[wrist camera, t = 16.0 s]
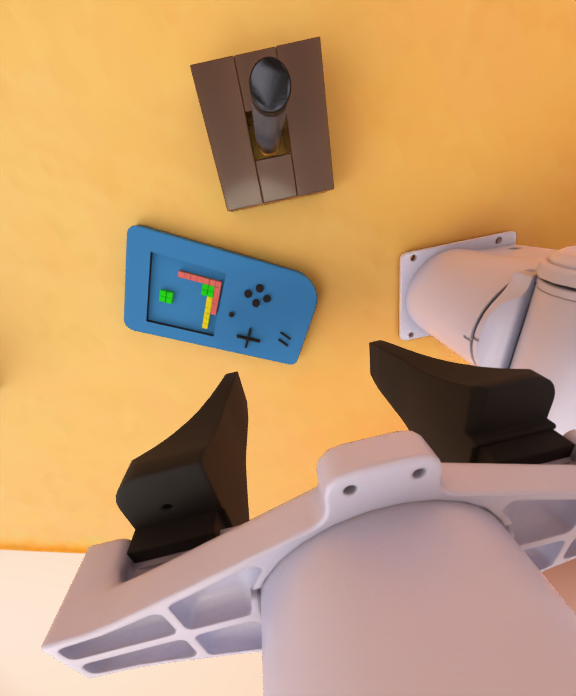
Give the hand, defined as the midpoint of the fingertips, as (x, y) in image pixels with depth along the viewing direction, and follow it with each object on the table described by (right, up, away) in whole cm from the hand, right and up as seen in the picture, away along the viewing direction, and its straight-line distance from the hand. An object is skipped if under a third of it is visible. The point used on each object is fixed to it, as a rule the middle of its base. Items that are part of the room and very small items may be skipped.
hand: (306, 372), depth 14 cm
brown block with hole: (-2, +15, +4) cm, 16 cm away
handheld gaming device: (-6, +5, +8) cm, 12 cm away
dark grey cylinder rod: (-2, +15, +4) cm, 16 cm away
